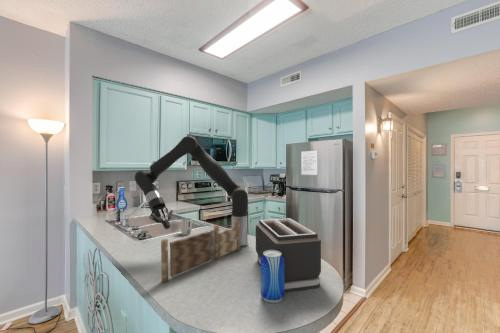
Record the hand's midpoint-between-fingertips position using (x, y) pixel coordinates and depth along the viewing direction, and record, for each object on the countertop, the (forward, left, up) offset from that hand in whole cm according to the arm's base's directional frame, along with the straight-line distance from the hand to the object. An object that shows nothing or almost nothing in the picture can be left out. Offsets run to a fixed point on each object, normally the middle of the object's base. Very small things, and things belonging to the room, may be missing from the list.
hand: (168, 228), depth 118 cm
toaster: (-55, +18, -16) cm, 60 cm away
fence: (-19, +6, -16) cm, 26 cm away
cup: (-2, -44, -16) cm, 47 cm away
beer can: (-45, +39, -16) cm, 61 cm away
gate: (-14, +11, -15) cm, 24 cm away
